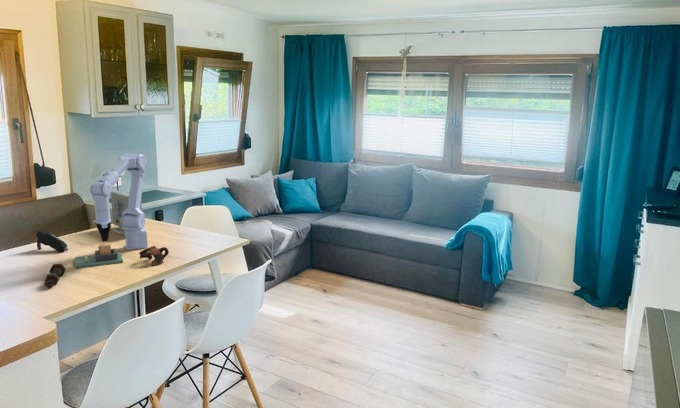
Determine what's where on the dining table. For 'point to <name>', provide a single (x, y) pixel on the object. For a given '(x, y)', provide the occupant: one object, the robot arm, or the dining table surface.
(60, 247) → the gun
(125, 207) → the network device
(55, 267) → the bolt
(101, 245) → the plug
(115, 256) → the header board
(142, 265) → the dining table surface
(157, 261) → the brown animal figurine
